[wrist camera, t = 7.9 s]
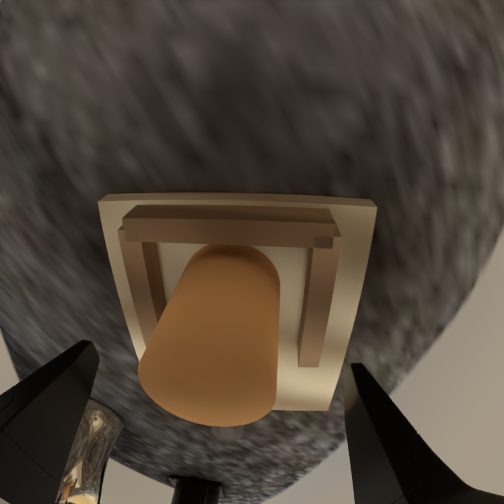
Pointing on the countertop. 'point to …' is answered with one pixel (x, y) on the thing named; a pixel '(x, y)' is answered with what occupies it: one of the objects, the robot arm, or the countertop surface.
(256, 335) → the orange rounded capsule
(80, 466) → the silver tall piece
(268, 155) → the countertop surface
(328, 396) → the hook board
